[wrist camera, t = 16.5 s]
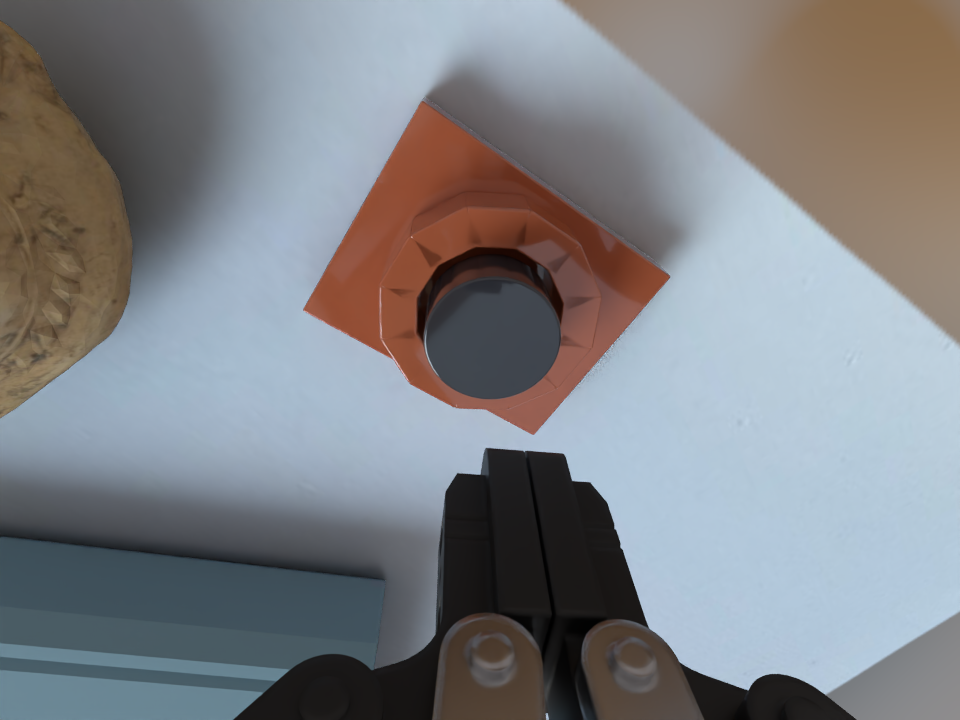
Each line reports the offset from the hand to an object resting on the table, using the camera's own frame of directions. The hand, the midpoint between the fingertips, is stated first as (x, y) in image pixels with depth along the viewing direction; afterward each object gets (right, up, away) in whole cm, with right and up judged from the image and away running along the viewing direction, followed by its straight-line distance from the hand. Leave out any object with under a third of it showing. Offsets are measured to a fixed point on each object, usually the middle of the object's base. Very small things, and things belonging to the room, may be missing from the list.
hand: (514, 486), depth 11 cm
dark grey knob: (0, +4, +7) cm, 8 cm away
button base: (0, +5, +10) cm, 11 cm away
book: (-18, -13, +19) cm, 29 cm away
